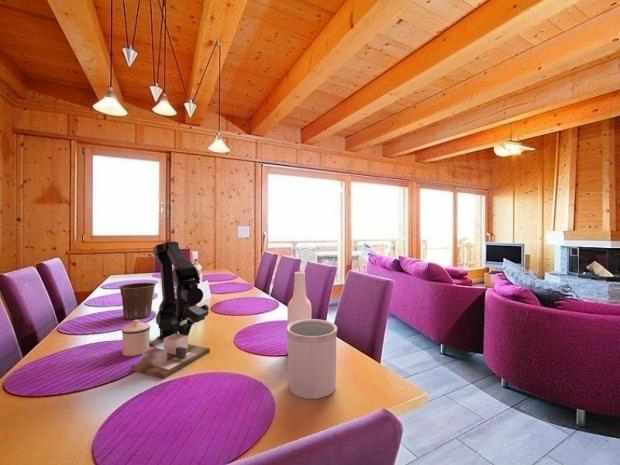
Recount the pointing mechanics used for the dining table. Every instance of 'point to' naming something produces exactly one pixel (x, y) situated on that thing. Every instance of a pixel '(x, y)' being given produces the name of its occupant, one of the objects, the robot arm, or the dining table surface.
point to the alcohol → (299, 301)
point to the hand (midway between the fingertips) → (184, 340)
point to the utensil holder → (312, 358)
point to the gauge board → (169, 357)
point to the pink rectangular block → (175, 343)
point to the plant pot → (137, 299)
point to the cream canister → (135, 338)
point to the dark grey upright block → (180, 352)
